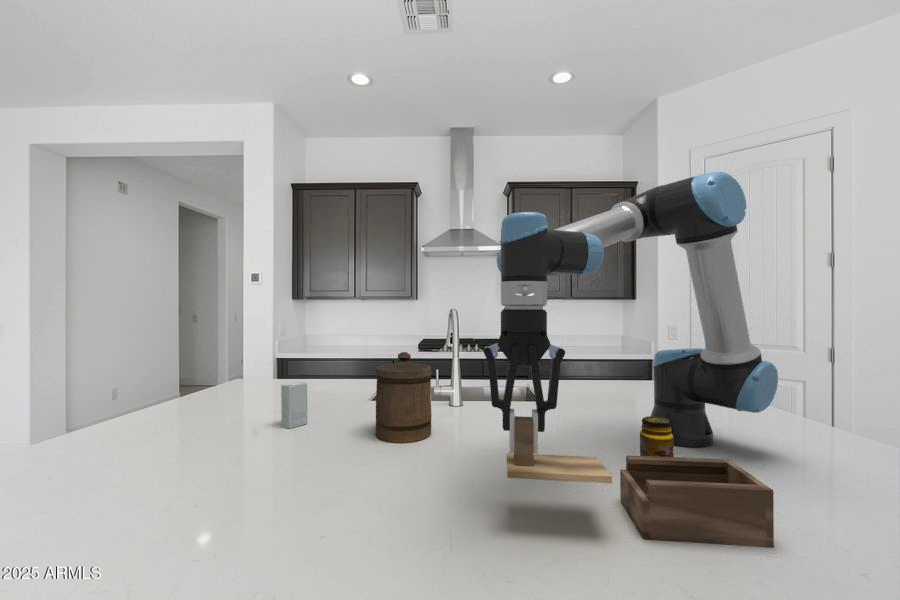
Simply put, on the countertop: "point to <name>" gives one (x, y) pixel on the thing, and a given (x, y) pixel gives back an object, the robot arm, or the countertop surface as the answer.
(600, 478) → the cover plate
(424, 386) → the wooden container
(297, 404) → the skincare box
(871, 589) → the countertop surface
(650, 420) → the condiment
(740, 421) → the countertop surface
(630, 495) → the walnut box
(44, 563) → the countertop surface
